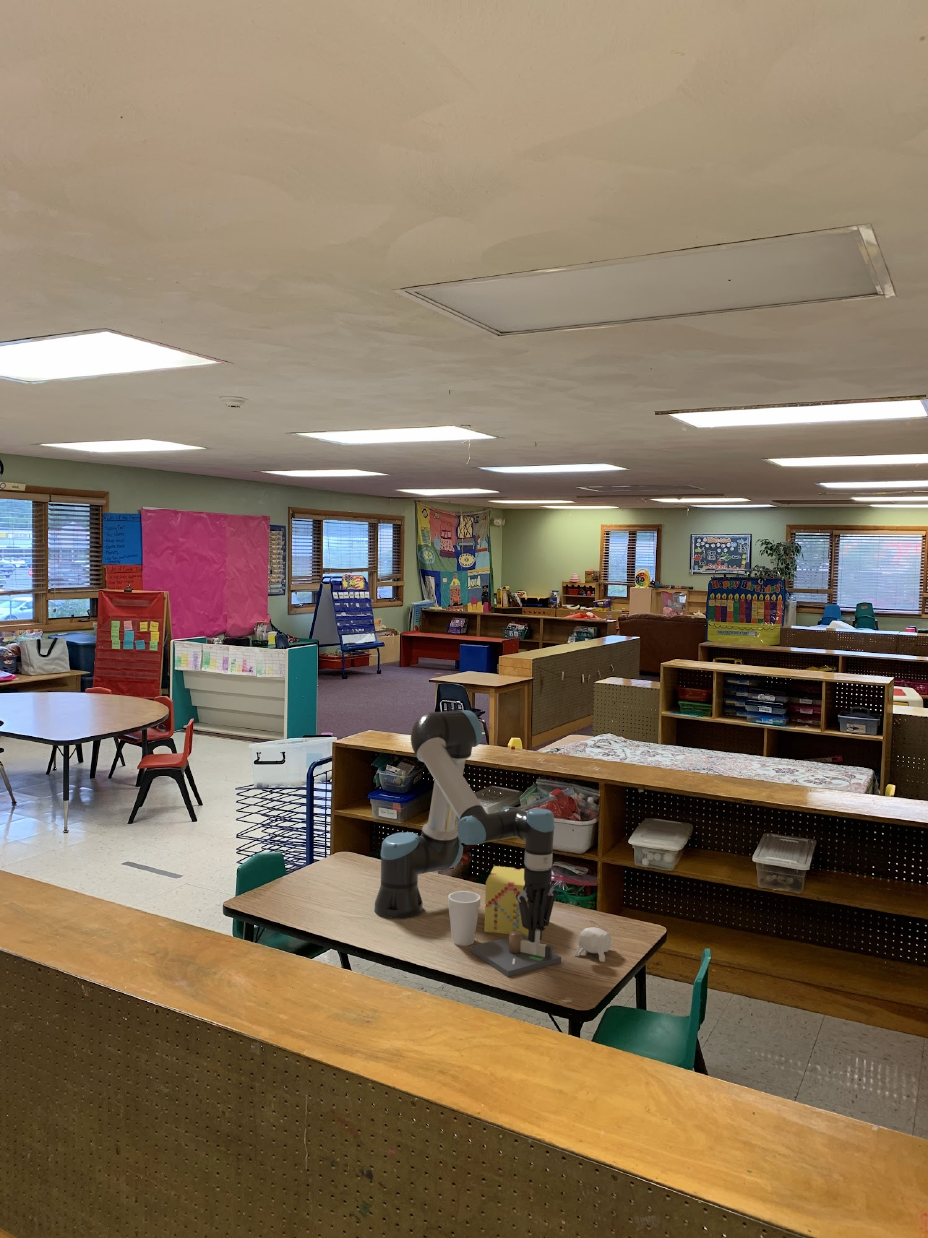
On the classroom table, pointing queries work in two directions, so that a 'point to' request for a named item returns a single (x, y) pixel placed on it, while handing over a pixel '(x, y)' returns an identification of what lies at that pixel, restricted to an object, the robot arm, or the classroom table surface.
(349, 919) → the classroom table surface
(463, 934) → the foam cup
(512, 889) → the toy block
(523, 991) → the classroom table surface
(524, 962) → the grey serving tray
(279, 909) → the classroom table surface
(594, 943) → the white footed figurine
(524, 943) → the tuning lever
